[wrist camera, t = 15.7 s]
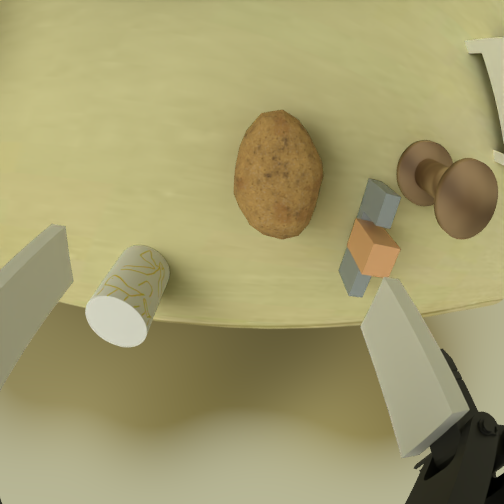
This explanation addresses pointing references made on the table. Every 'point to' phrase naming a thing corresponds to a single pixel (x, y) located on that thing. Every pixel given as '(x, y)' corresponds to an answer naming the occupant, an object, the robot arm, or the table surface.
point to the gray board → (381, 214)
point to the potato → (277, 175)
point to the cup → (129, 296)
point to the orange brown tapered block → (372, 249)
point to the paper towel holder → (493, 74)
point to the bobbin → (448, 187)
